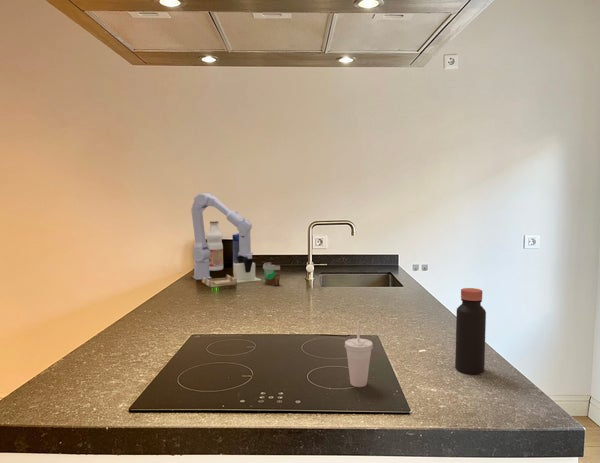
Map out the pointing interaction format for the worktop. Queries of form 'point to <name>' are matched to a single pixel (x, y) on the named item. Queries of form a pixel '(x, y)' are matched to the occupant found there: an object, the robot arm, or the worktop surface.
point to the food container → (271, 274)
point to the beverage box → (235, 249)
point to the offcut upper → (221, 282)
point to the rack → (210, 281)
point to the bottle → (470, 332)
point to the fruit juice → (215, 247)
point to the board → (249, 280)
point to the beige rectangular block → (243, 272)
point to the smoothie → (358, 359)
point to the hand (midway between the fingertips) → (245, 271)
